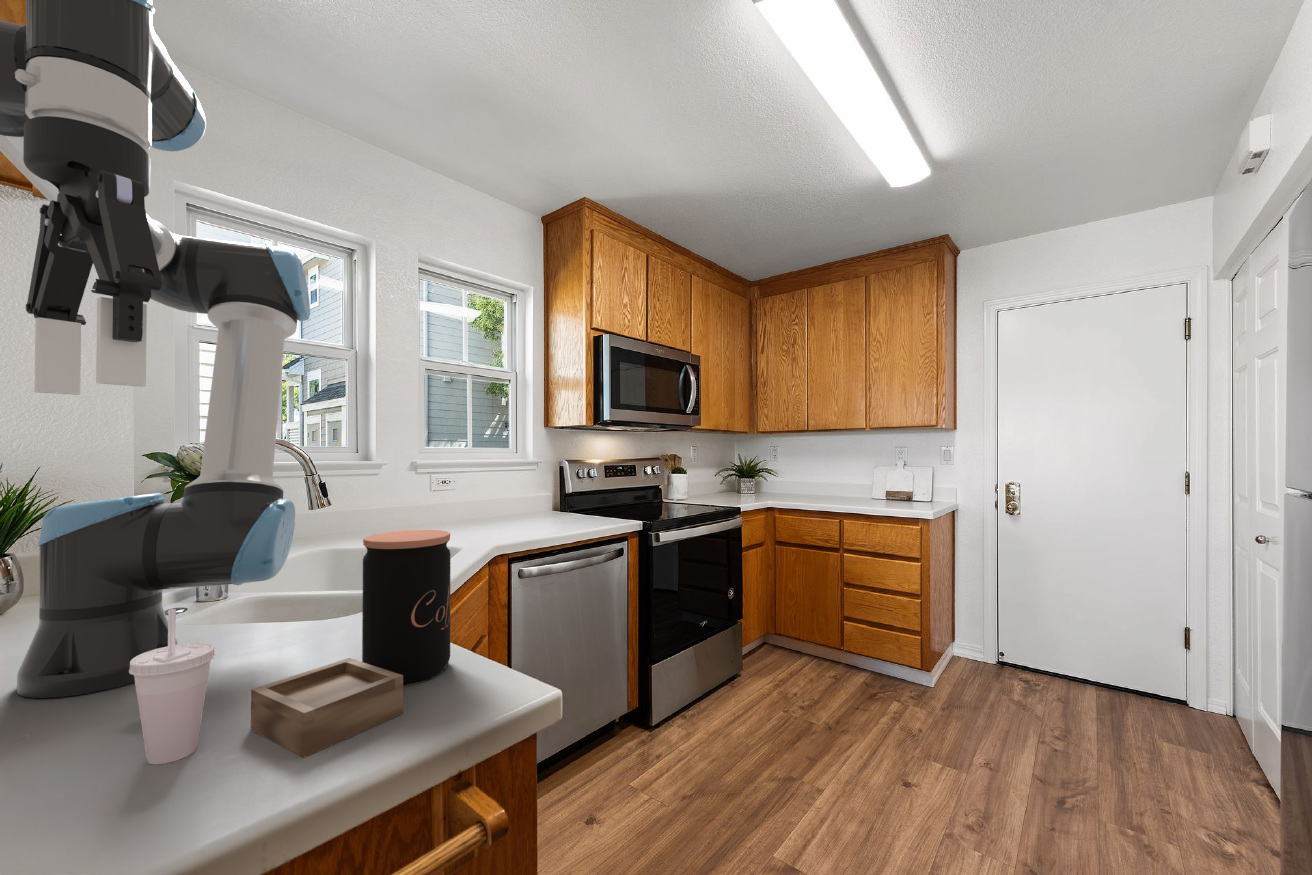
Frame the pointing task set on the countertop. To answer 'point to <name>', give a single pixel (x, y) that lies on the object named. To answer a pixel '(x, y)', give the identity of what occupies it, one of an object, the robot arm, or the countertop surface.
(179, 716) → the smoothie
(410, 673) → the coffee jar
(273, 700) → the wooden tray
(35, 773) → the countertop surface
